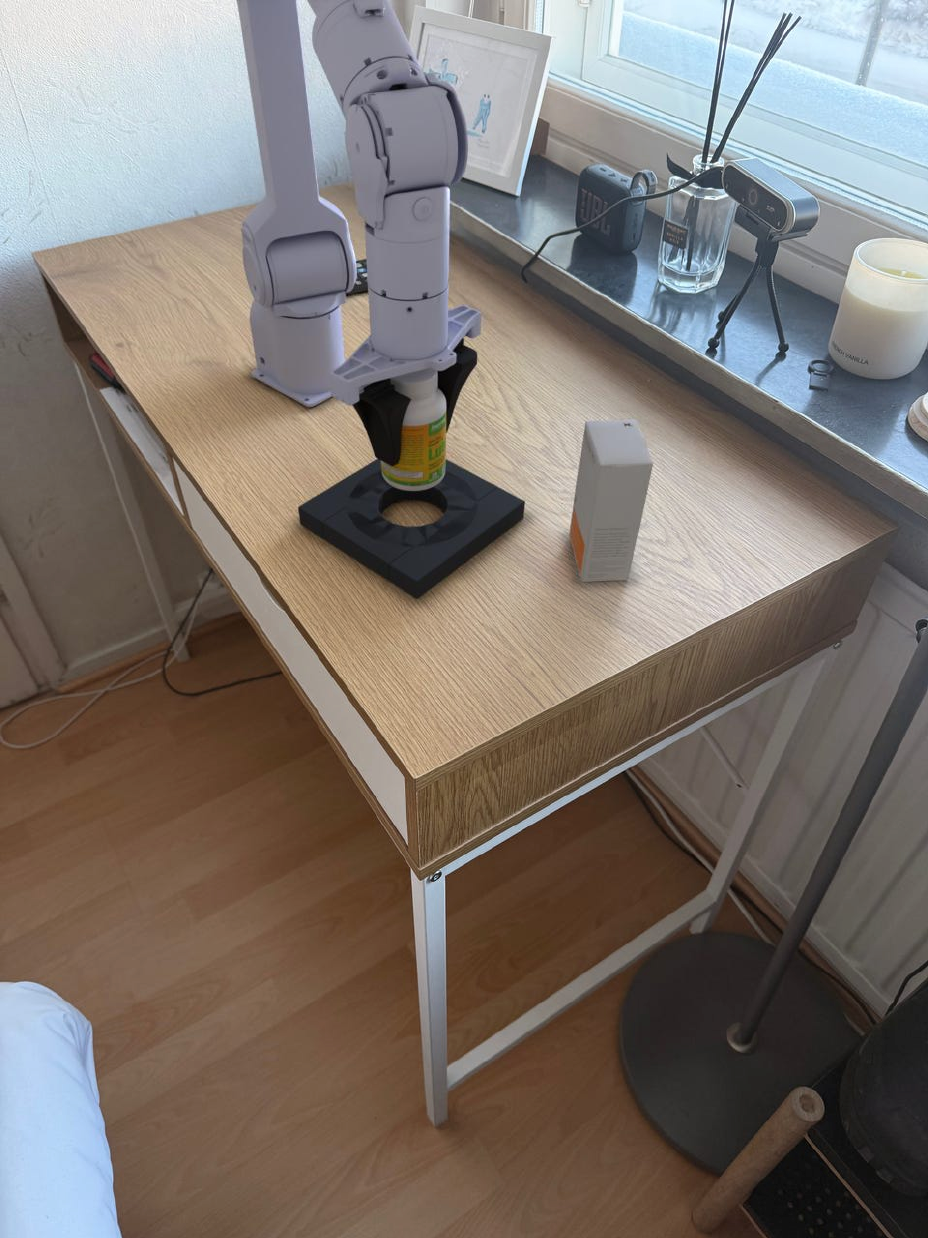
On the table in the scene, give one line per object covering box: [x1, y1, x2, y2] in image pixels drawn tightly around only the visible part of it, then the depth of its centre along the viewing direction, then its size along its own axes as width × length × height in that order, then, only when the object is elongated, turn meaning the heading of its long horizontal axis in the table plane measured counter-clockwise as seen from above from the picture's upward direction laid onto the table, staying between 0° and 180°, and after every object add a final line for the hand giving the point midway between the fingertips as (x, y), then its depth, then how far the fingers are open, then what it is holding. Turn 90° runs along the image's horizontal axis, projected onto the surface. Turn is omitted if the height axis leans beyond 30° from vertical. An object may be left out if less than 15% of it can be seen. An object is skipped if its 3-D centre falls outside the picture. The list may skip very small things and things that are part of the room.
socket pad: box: [297, 458, 526, 600], centre depth 76 cm, size 14×14×2 cm
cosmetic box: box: [568, 419, 654, 583], centre depth 70 cm, size 6×4×12 cm
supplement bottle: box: [381, 368, 447, 491], centre depth 70 cm, size 5×5×10 cm
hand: (411, 444), depth 71 cm, fingers closed on supplement bottle, 5 cm apart
